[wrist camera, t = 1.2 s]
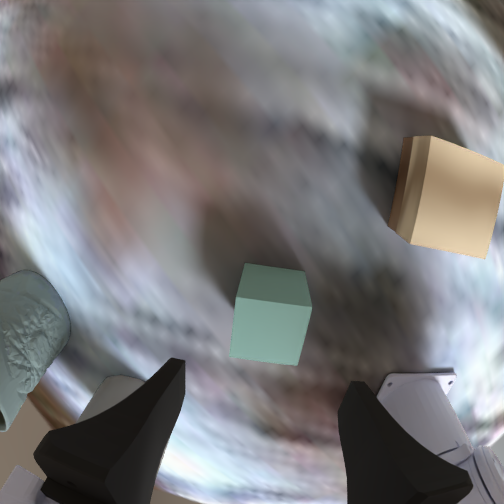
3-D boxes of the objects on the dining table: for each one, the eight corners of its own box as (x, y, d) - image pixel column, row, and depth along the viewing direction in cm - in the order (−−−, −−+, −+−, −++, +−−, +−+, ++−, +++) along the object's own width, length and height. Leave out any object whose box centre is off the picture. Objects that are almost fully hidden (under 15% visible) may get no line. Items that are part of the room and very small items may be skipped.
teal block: (293, 321, 22) (297, 365, 17) (238, 314, 22) (229, 356, 17) (304, 271, 20) (312, 307, 16) (245, 262, 20) (236, 296, 16)
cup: (151, 439, 28) (124, 509, 19) (90, 396, 27) (49, 462, 17) (192, 412, 26) (166, 499, 16) (120, 361, 24) (69, 441, 15)
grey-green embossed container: (-3, 298, 24) (-75, 353, 13) (24, 237, 21) (-77, 292, 10) (57, 367, 26) (-2, 442, 15) (97, 322, 23) (17, 417, 12)
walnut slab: (452, 238, 19) (468, 248, 17) (384, 224, 19) (397, 233, 17) (468, 160, 17) (486, 163, 15) (400, 137, 17) (414, 136, 15)
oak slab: (467, 247, 17) (485, 259, 15) (395, 232, 17) (410, 244, 15) (485, 162, 15) (506, 165, 13) (413, 136, 15) (431, 135, 13)
